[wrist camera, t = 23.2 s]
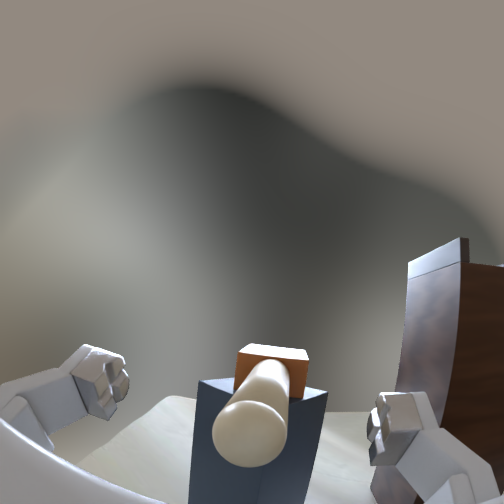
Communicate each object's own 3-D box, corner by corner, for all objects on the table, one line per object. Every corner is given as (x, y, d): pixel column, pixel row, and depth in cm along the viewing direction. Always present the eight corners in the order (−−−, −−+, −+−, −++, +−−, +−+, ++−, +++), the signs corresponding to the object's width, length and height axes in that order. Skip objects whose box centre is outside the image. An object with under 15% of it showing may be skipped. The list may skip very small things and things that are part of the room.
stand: (491, 516, 13) (546, 251, 18) (394, 542, 15) (459, 236, 20) (449, 476, 25) (486, 270, 30) (369, 486, 26) (408, 262, 31)
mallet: (313, 487, 9) (330, 415, 9) (168, 462, 9) (173, 392, 10) (300, 380, 29) (305, 349, 29) (246, 373, 29) (250, 343, 30)
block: (247, 547, 16) (273, 409, 18) (187, 506, 21) (198, 380, 24) (300, 514, 22) (328, 391, 24) (243, 486, 27) (259, 374, 30)
